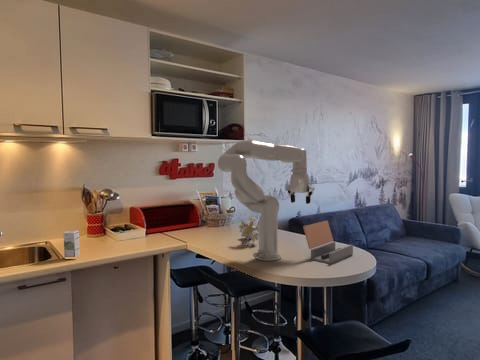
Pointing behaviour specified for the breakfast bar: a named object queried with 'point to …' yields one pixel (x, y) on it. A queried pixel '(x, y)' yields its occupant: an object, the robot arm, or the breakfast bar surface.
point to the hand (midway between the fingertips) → (300, 202)
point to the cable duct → (333, 255)
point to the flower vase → (249, 231)
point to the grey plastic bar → (327, 254)
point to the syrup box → (71, 243)
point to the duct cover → (318, 234)
